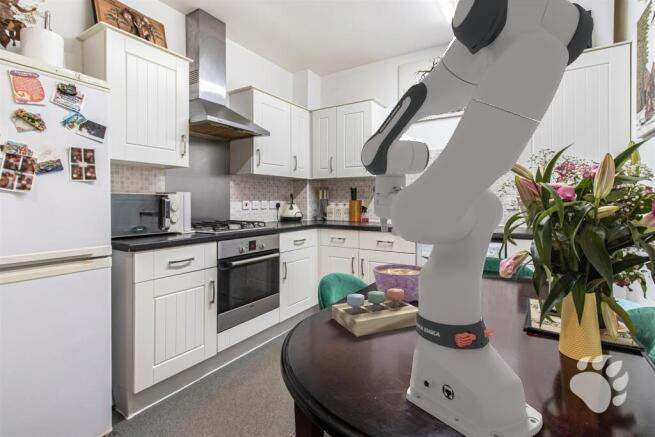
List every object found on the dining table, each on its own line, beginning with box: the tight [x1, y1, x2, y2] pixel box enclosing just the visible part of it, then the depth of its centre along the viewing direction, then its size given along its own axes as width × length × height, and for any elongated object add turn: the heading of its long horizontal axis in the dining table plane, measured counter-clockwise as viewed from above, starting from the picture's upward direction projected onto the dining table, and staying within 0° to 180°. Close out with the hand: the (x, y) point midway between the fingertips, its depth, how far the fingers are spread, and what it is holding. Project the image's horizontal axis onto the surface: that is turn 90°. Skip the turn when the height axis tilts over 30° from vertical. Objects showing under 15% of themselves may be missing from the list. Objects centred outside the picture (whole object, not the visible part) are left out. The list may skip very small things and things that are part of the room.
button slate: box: [346, 293, 365, 315], centre depth 96 cm, size 5×5×6 cm
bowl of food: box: [372, 263, 423, 304], centre depth 120 cm, size 20×20×12 cm
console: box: [331, 297, 418, 337], centre depth 99 cm, size 16×22×4 cm
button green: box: [367, 290, 385, 312], centre depth 99 cm, size 5×5×6 cm
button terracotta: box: [387, 288, 404, 309], centre depth 102 cm, size 5×5×6 cm
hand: (389, 233), depth 99 cm, fingers open, 8 cm apart
